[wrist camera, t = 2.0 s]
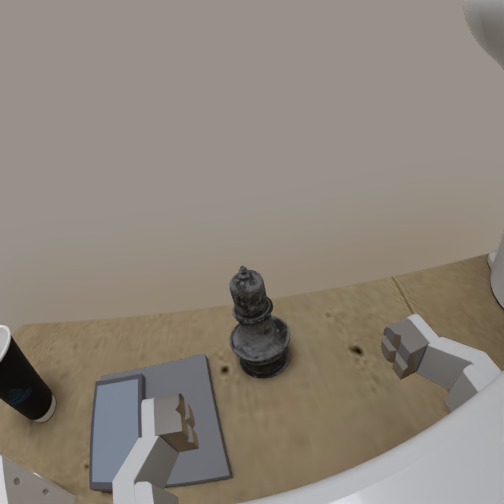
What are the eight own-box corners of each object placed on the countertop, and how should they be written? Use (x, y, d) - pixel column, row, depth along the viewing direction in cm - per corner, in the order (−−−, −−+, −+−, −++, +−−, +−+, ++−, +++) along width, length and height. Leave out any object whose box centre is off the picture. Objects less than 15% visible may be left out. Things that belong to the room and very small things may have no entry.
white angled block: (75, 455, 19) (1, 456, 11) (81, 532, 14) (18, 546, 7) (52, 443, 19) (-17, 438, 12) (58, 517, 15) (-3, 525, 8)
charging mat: (207, 358, 31) (204, 353, 30) (232, 477, 19) (229, 474, 18) (105, 380, 29) (101, 375, 29) (101, 489, 18) (95, 486, 17)
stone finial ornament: (226, 368, 29) (190, 279, 23) (256, 330, 33) (233, 240, 27) (275, 389, 26) (253, 299, 20) (302, 345, 30) (292, 251, 24)
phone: (145, 378, 28) (141, 372, 28) (151, 490, 17) (146, 488, 17) (99, 386, 28) (95, 381, 27) (95, 491, 17) (89, 488, 16)
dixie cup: (38, 378, 30) (-9, 321, 24) (73, 390, 28) (19, 328, 22) (15, 421, 23) (-41, 367, 17) (50, 441, 22) (-17, 384, 16)
